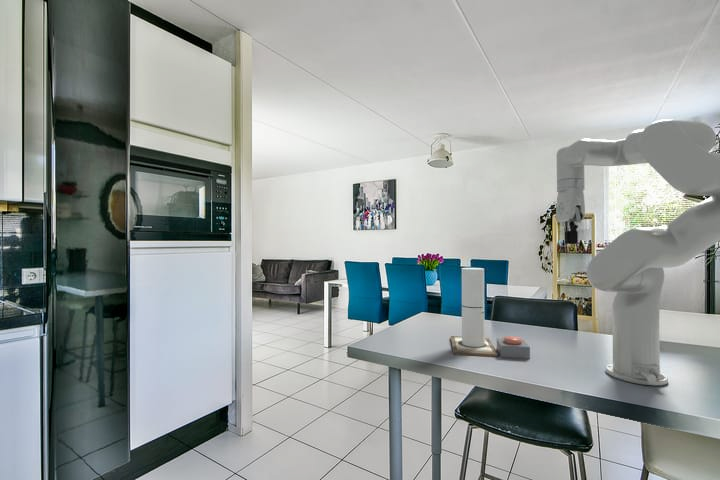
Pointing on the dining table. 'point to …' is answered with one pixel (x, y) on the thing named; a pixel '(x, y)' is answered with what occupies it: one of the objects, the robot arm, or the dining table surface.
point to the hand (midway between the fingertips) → (571, 243)
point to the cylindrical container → (473, 307)
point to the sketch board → (473, 348)
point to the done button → (512, 340)
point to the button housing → (513, 349)
